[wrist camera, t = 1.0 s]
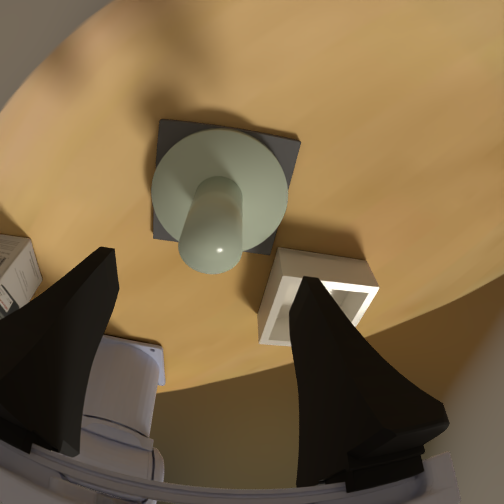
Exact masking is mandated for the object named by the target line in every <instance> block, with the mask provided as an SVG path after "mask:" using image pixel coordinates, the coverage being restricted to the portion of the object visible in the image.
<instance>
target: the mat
mask: <svg viewBox="0 0 504 504" xmlns="http://www.w3.org/2000/svg"><path fill="white" fill-rule="evenodd" d="M211 128H227V129H234V130H238V131H241V132H244V133H247V134H249V135H251V136H253V137H255V138H257V139H258V140H260V141H261V142H262V143H264V144H265V145H266V146H267V147H268V148H269V149H270V150H271V151H272V152H273V154H274V155H275V156H276V157H277V159H278V161H279V163H280V164H281V167H282V169H283V172H284V175H285V178H286V182H287V187H288V189H289V185H290V181H291V178H292V174H293V170H294V167H295V163H296V159H297V156H298V152H299V148H300V144H301V142H300V141H299V140H295V139H290V138H286V137H281V136H276V135H271V134H266V133H261V132H255V131H250V130H244V129H238V128H232V127H225V126H218V125H211V124H204V123H196V122H187V121H178V120H168V119H161V120H160V122H159V132H158V143H157V156H156V168H157V166H158V164H159V163H160V161H161V159H162V158H163V157H164V155H165V154H166V153H167V152H168V151H169V149H170V148H171V147H172V146H173V145H174V144H176V143H177V142H178V141H179V140H181V139H183V138H184V137H186V136H188V135H190V134H192V133H194V132H198V131H201V130H205V129H211ZM277 228H278V227H277ZM277 228H276V230H275V231H274V232H273V233H272V234H271V235H270V236H269V237H268V238H267V239H266V240H264V241H263V242H262V243H260V244H258V245H257V246H255V247H253V248H251V249H248V250H245V251H243V252H250V253H257V254H264V255H270V253H271V249H272V246H273V242H274V239H275V235H276V232H277ZM153 239H160V240H167V241H174V242H179V241H177V240H176V239H175V238H173V237H172V236H171V235H170V234H169V233H168V232H167V231H166V230H165V228H164V227H163V226H162V224H161V223H160V221H159V220H158V217H157V215H156V213H155V210H154V220H153Z"/></svg>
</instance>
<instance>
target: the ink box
mask: <svg viewBox="0 0 504 504" xmlns="http://www.w3.org/2000/svg"><path fill="white" fill-rule="evenodd" d="M41 282H42V277H41V274H40V271H39V267H38V264H37V260H36V257H35V254H34V250H33V247H32V243H31V240H30V239H29V238H25V237H17V236H10V235H3V234H0V319H2V318H4V317H6V316H7V315H9V314H11V313H13V312H14V311H16V310H18V309H19V308H21V307H23V306H24V305H26V304H27V303H29V301H30V300H31V298H32V296H33V295H34V293H35V291H36V290H37V288H38V286H39V285H40V283H41Z"/></svg>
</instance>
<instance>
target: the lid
mask: <svg viewBox="0 0 504 504" xmlns="http://www.w3.org/2000/svg"><path fill="white" fill-rule="evenodd" d="M151 197H152V203H153V207H154V210H155V213H156V215H157V217H158V220H159V221H160V223H161V224H162V226H163V227H164V228H165V230H166V231H167V232H168V233H169V234H170V235H171V236H172V237H173V238H175V239H176V240H177V241H179V244H178V249H179V253H180V256H181V258H182V259H183V261H184V262H185V263H186V264H187V265H188V266H189V267H191V268H192V269H194V270H196V271H198V272H201V273H206V274H219V273H223V272H226V271H228V270H230V269H232V268H233V267H234V266H235V265H236V264H237V263H238V262H239V260H240V258H241V255H242V252H243V251H245V250H248V249H251V248H253V247H255V246H257V245H258V244H260V243H262V242H263V241H264V240H266V239H267V238H268V237H269V236H270V235H271V234H272V233H273V232H274V231H275V230H276V228H277V227H278V226H279V224H280V222H281V220H282V219H283V216H284V214H285V211H286V207H287V202H288V187H287V182H286V178H285V175H284V172H283V169H282V167H281V164H280V163H279V161H278V159H277V157H276V156H275V155H274V154H273V152H272V151H271V150H270V149H269V148H268V147H267V146H266V145H265V144H264V143H262V142H261V141H260V140H258V139H257V138H255V137H253V136H251V135H249V134H247V133H244V132H241V131H238V130H234V129H227V128H211V129H205V130H201V131H198V132H194V133H192V134H190V135H188V136H186V137H184V138H183V139H181V140H179V141H178V142H177V143H176V144H174V145H173V146H172V147H171V148H170V149H169V151H168V152H167V153H166V154H165V155H164V157H163V158H162V159H161V161H160V163H159V164H158V166H157V168H156V171H155V173H154V176H153V180H152V187H151Z"/></svg>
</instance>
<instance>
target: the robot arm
mask: <svg viewBox="0 0 504 504" xmlns="http://www.w3.org/2000/svg"><path fill="white" fill-rule="evenodd" d="M118 292H119V282H118V274H117V266H116V257H115V249H113V248H107V247H99V248H98V249H97V250H95V251H94V252H93V253H92V254H90V255H89V256H88V257H87V258H85V259H84V260H83V261H82V262H81V263H79V264H78V265H77V266H76V267H75V268H73V269H72V270H71V271H70V272H69V273H67V274H66V275H65V276H64V277H62V278H61V279H60V280H59V281H57V282H56V283H55V284H53V285H52V286H51V287H50V288H48V289H47V290H46V291H44V292H43V293H42V294H40V295H39V296H38V297H36V298H35V299H33V300H32V301H30V302H29V303H27V304H26V305H24V306H23V307H21V308H19V309H18V310H16V311H14V312H13V313H11V314H9V315H7V316H6V317H4V318H2V319H0V502H1V503H3V504H156V502H157V501H162V502H169V503H176V504H459V503H460V502H461V497H460V492H459V488H458V483H457V479H456V475H455V470H454V466H453V463H452V459H451V455H450V452H449V451H446V452H444V453H441V454H438V455H435V456H432V457H430V458H427V459H425V460H422V459H421V454H423V453H424V452H425V449H424V446H423V445H424V444H425V443H427V442H428V441H430V440H432V439H433V438H435V437H437V436H438V435H440V434H441V433H442V432H444V431H445V430H446V429H447V428H448V426H449V420H448V417H447V414H446V411H445V408H444V405H443V403H441V402H440V401H438V400H436V399H435V398H433V397H432V396H430V395H429V394H427V393H426V392H424V391H422V390H421V389H419V388H418V387H417V386H415V385H414V384H413V383H411V382H410V381H409V380H408V379H406V378H405V377H404V376H403V375H401V374H400V373H399V372H398V371H397V370H396V369H394V368H393V367H392V366H391V365H390V364H389V363H387V361H385V360H384V359H383V358H382V357H381V356H380V355H379V353H377V351H376V350H375V349H374V348H373V347H372V346H371V345H370V344H369V343H368V342H367V341H366V340H365V339H364V337H363V336H362V335H361V334H360V333H359V331H358V330H357V329H356V328H355V327H354V325H353V324H352V323H351V321H350V320H349V319H348V318H347V316H346V315H345V314H344V312H343V311H342V310H341V308H340V307H339V306H338V304H337V303H336V301H335V300H334V299H333V297H332V296H331V294H330V293H329V292H328V290H327V289H326V287H325V286H324V285H323V283H322V282H321V281H320V279H319V278H316V277H308V276H303V278H302V281H301V283H300V286H299V288H298V291H297V293H296V296H295V298H294V301H293V303H292V306H291V308H290V310H289V334H290V341H291V347H292V354H293V360H294V365H295V371H296V378H297V384H298V393H299V457H298V470H297V480H296V485H297V488H286V489H221V488H207V487H196V486H187V485H179V484H172V483H165V482H163V479H164V461H163V458H162V456H161V455H160V453H159V451H158V450H157V449H156V448H153V439H150V438H149V435H150V427H151V421H152V415H153V408H154V402H155V396H156V390H157V385H161V386H163V385H165V371H164V357H163V348H162V347H161V346H159V345H154V344H148V343H142V342H137V341H132V340H127V339H122V338H117V337H112V336H108V335H103V334H104V332H105V329H106V327H107V324H108V322H109V319H110V317H111V314H112V312H113V309H114V306H115V302H116V299H117V295H118ZM51 450H52V451H51ZM77 484H78V485H77ZM79 485H80V486H79ZM82 486H83V487H82ZM85 487H86V488H85ZM88 488H89V489H88ZM91 489H92V490H91ZM94 490H95V491H94ZM97 491H98V492H97ZM100 492H102V493H100ZM103 493H105V494H103ZM107 494H108V495H107ZM110 495H112V496H110ZM114 496H116V497H114ZM117 497H119V498H117Z"/></svg>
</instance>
